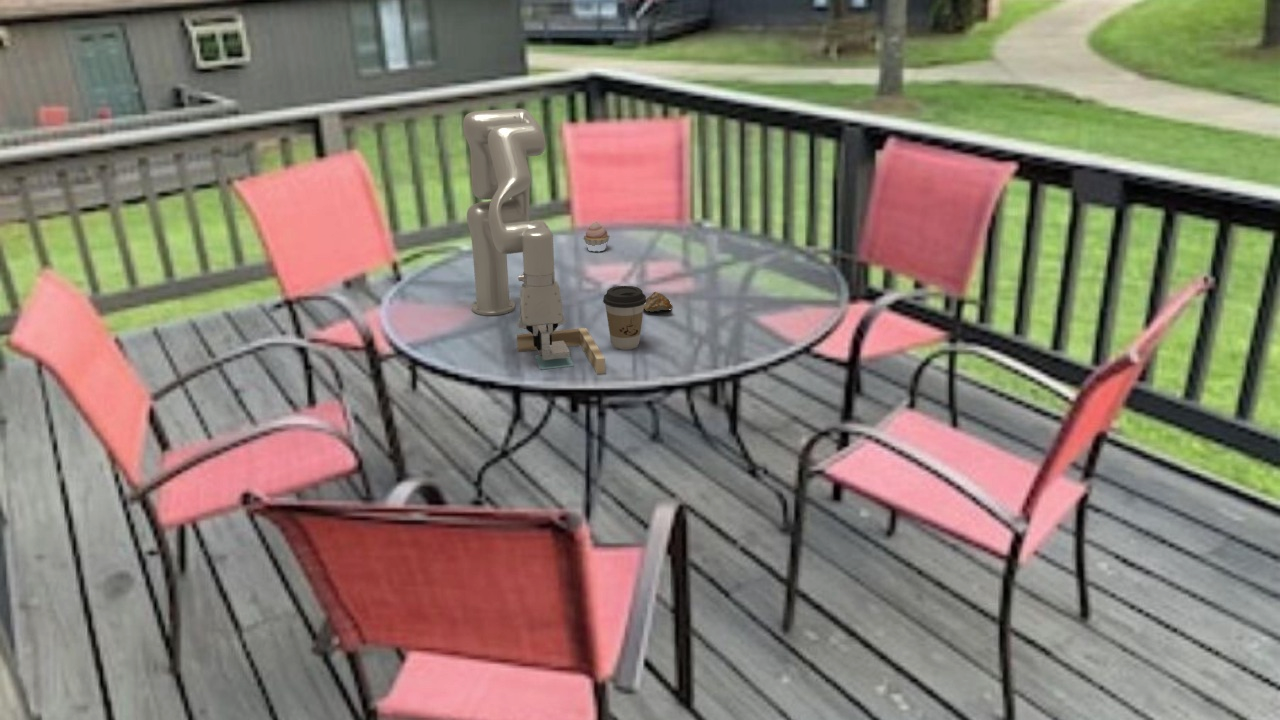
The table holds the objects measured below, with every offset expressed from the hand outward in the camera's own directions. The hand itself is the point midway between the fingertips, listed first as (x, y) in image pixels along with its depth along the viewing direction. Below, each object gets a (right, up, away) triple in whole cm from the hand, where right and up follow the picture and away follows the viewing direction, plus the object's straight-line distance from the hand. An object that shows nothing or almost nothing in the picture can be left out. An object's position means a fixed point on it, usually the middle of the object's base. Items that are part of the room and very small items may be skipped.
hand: (542, 347), depth 251 cm
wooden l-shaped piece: (+4, -3, +3) cm, 6 cm away
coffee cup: (+21, +1, +13) cm, 24 cm away
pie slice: (+29, +11, +39) cm, 50 cm away
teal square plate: (+3, -3, +2) cm, 5 cm away
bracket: (+2, -1, +1) cm, 3 cm away
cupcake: (+10, +35, +94) cm, 101 cm away
